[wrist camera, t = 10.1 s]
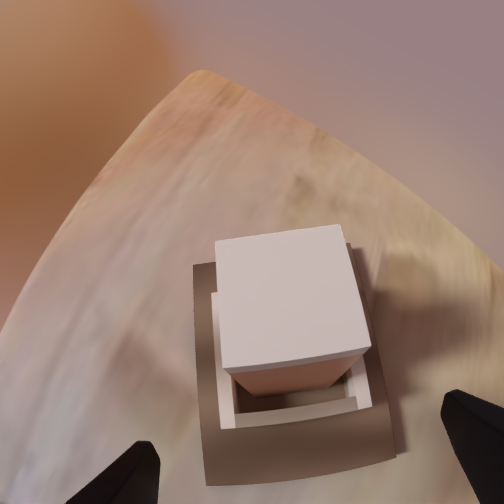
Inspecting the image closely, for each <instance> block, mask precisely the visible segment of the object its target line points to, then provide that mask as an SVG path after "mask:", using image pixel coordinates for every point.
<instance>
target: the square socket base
mask: <svg viewBox="0 0 504 504" xmlns="http://www.w3.org/2000/svg"><path fill="white" fill-rule="evenodd" d="M346 247H347V250H348V254H349V257H350V261H351V264H352V268H353V272H354V275H355V279H356V283H357V287H358V291H359V295H360V299H361V303H362V307H363V311H364V315H365V319H366V324H367V328H368V332H369V337H370V341H371V347H370V348H369V349H368V350H367V351H366V352H365V353H364V354H363V355H362V356H361V357H360V358H359V359H358V360H357V361H356V362H355V363H354V364H353V365H352V366H351V367H350V368H349V369H348V370H347V371H346V372H345V373H344V374H343V375H342V376H340V377H339V378H338V379H337V380H336V381H335V382H334V383H333V384H332V385H331V386H330V387H329V388H324V389H318V390H312V391H306V392H299V393H293V394H285V395H278V396H270V397H261V398H255V397H254V396H253V395H252V394H251V393H249V392H248V391H247V390H246V389H245V388H244V387H243V386H241V385H240V384H239V383H238V382H237V381H236V380H235V379H234V378H233V377H231V376H230V375H229V374H228V373H227V372H226V371H225V370H224V369H223V368H222V356H221V341H220V326H219V310H218V293H217V274H216V262H211V263H204V264H196V265H193V289H194V325H195V349H196V368H197V385H198V400H199V414H200V426H201V438H202V449H203V459H204V469H205V478H206V486H224V485H247V484H261V483H271V482H281V481H289V480H297V479H304V478H310V477H316V476H322V475H327V474H332V473H337V472H342V471H347V470H351V469H356V468H360V467H364V466H368V465H372V464H376V463H379V462H383V461H386V460H390V459H393V458H396V451H395V443H394V436H393V430H392V423H391V417H390V411H389V405H388V399H387V393H386V388H385V383H384V378H383V373H382V368H381V363H380V358H379V353H378V349H377V344H376V340H375V335H374V331H373V327H372V323H371V318H370V314H369V310H368V306H367V302H366V298H365V295H364V291H363V287H362V283H361V280H360V276H359V272H358V269H357V265H356V262H355V258H354V255H353V251H352V248H351V245H350V243H346Z"/></svg>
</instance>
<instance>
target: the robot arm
mask: <svg viewBox="0 0 504 504" xmlns="http://www.w3.org/2000/svg"><path fill="white" fill-rule="evenodd" d="M441 419H442V421H443V424H444V426H445V429H446V431H447V434H448V436H449V439H450V441H451V444H452V447H453V449H454V452H455V454H456V456H457V458H458V460H459V462H460V464H461V466H462V468H463V470H464V472H465V474H466V476H467V478H468V480H469V482H470V484H471V486H472V488H473V490H474V492H475V494H476V496H477V498H478V500H479V502H480V504H504V408H502V407H500V406H497V405H495V404H492V403H490V402H487V401H485V400H483V399H480V398H478V397H475V396H473V395H470V394H468V393H466V392H463V391H461V390H458V389H455V390H452V391H450V392H447V393H446V394H445V396H444V400H443V404H442V408H441ZM159 476H160V458H159V456H158V454H157V452H156V450H155V448H154V446H153V444H152V443H151V442H150V441H137V442H135V443H134V444H133V445H132V446H131V447H130V448H129V449H128V450H126V451H125V452H124V453H123V454H122V455H121V456H120V457H119V458H117V459H116V460H115V461H114V462H113V463H112V464H111V465H109V466H108V467H107V468H106V469H105V470H104V471H103V472H101V473H100V474H99V475H98V476H97V477H96V478H94V479H93V480H92V481H91V482H90V483H88V484H87V485H86V486H85V487H84V488H82V489H81V490H80V491H79V492H78V493H76V494H75V495H74V496H73V497H72V498H70V499H69V500H68V501H67V502H66V504H157V503H158V490H159Z"/></svg>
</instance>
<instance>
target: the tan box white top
mask: <svg viewBox="0 0 504 504" xmlns="http://www.w3.org/2000/svg"><path fill="white" fill-rule="evenodd" d="M215 254H216V274H217V293H218V310H219V326H220V341H221V356H222V368H223V369H224V370H225V371H226V372H227V373H228V374H229V375H230V376H231V377H233V378H234V379H235V380H236V381H237V382H238V383H239V384H240V385H241V386H243V387H244V388H245V389H246V390H247V391H248V392H249V393H251V394H252V395H253V396H254V397H255V398H261V397H270V396H278V395H285V394H293V393H299V392H306V391H312V390H318V389H324V388H329V387H330V386H331V385H332V384H333V383H334V382H335V381H336V380H337V379H338V378H339V377H340V376H342V375H343V374H344V373H345V372H346V371H347V370H348V369H349V368H350V367H351V366H352V365H353V364H354V363H355V362H356V361H357V360H358V359H359V358H360V357H361V356H362V355H363V354H364V353H365V352H366V351H367V350H368V349H369V348H370V347H371V341H370V337H369V332H368V328H367V324H366V319H365V315H364V311H363V307H362V303H361V299H360V295H359V291H358V287H357V283H356V279H355V275H354V272H353V268H352V264H351V261H350V257H349V254H348V250H347V247H346V243H345V240H344V236H343V233H342V230H341V226H340V224H336V225H328V226H321V227H313V228H306V229H298V230H291V231H284V232H276V233H269V234H262V235H255V236H247V237H240V238H233V239H226V240H219V241H215Z"/></svg>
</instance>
